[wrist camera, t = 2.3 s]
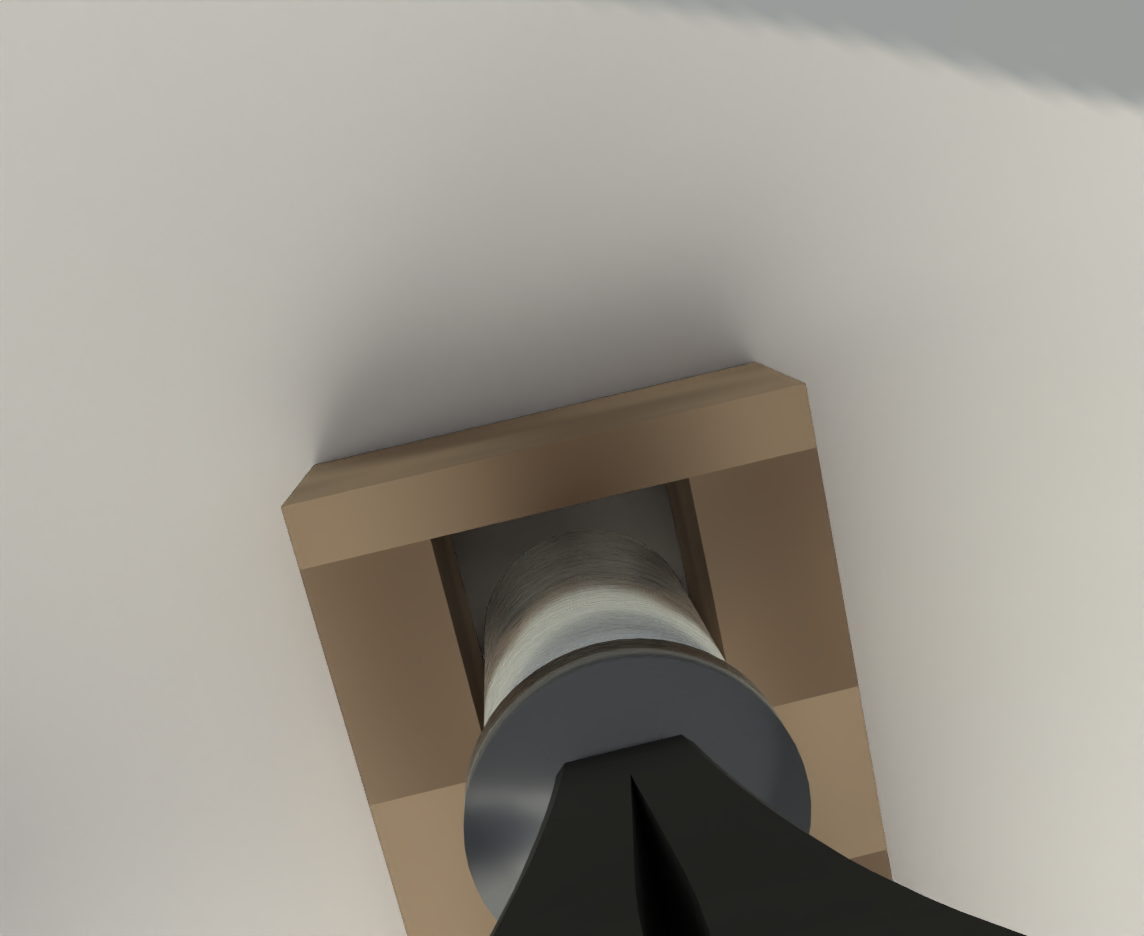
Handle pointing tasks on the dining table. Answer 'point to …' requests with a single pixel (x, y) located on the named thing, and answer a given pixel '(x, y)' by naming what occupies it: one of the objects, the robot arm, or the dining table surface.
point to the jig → (547, 482)
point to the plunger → (603, 693)
